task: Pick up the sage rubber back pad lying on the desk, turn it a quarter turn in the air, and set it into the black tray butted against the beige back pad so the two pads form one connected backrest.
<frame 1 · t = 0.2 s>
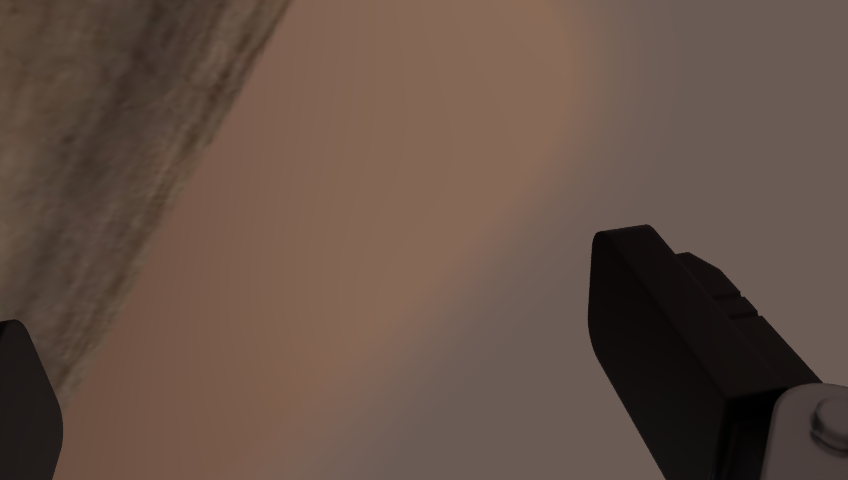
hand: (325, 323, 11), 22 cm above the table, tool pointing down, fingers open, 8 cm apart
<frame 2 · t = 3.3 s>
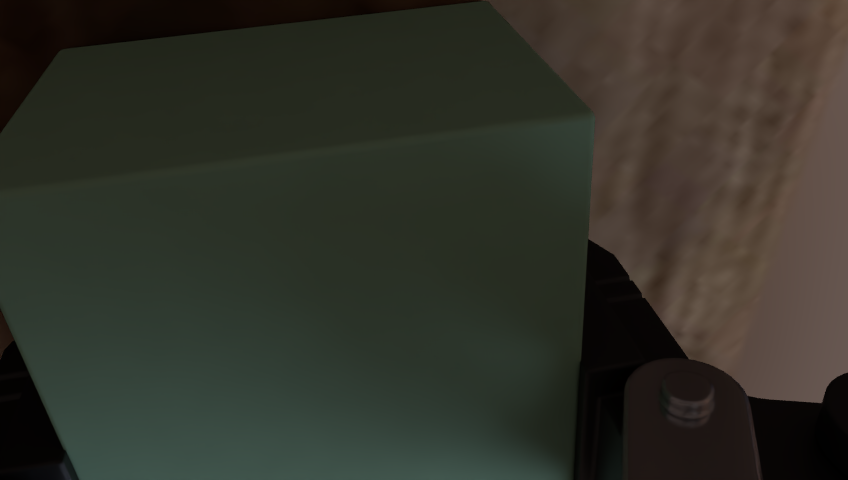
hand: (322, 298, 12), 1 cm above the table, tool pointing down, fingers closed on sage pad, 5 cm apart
sage pad: (322, 277, 12), on the table, touching gripper
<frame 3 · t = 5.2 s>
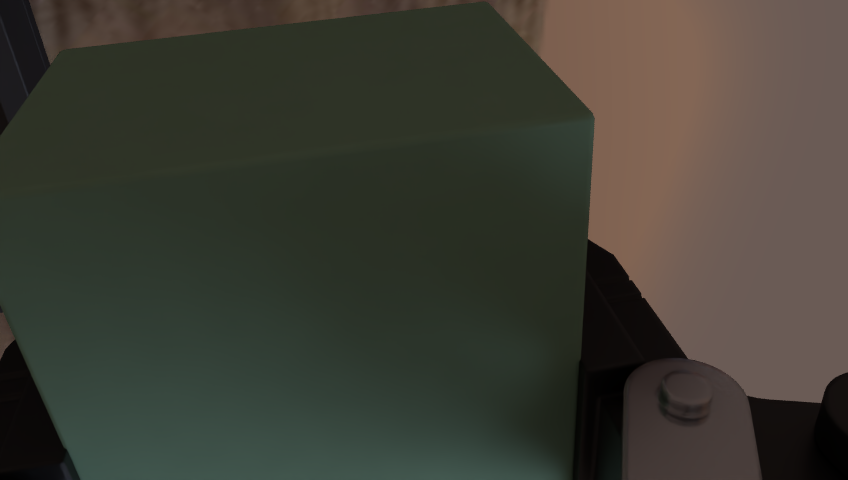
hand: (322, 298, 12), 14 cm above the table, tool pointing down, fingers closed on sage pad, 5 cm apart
sage pad: (322, 277, 12), point 13 cm above the table, touching gripper
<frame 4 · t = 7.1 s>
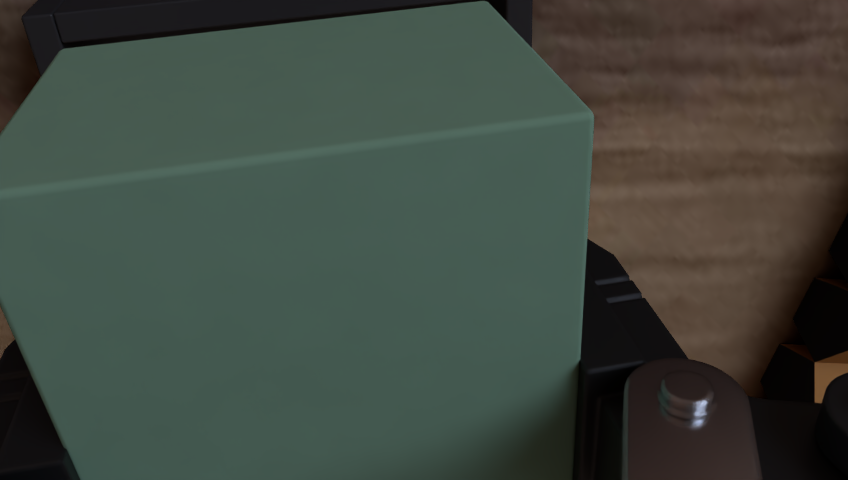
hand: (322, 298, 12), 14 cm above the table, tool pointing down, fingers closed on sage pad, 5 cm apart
sage pad: (321, 276, 12), point 14 cm above the table, touching gripper
tray: (326, 249, 28), on the table
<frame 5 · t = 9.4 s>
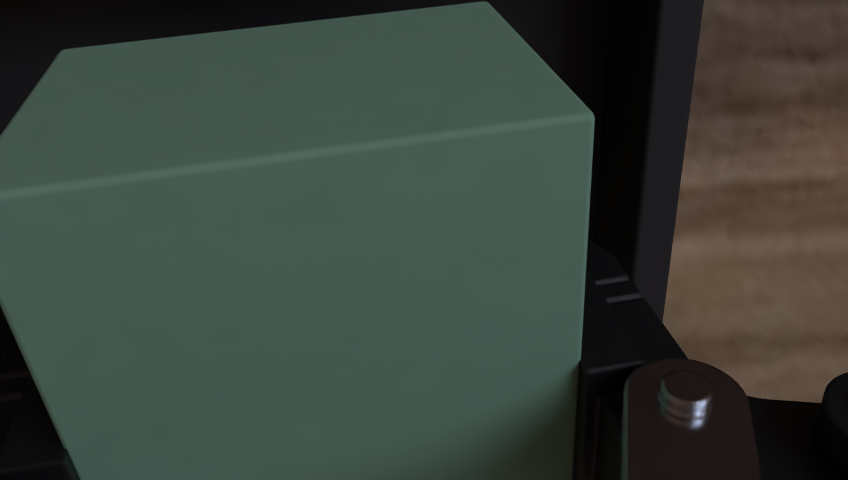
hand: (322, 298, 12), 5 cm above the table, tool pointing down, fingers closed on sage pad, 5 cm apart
sage pad: (322, 277, 12), point 4 cm above the table, touching gripper
tray: (333, 339, 18), on the table
when the fingers open (1 cm above the table, at t = 10.8 s): sage pad stays where it is, resting on tray.
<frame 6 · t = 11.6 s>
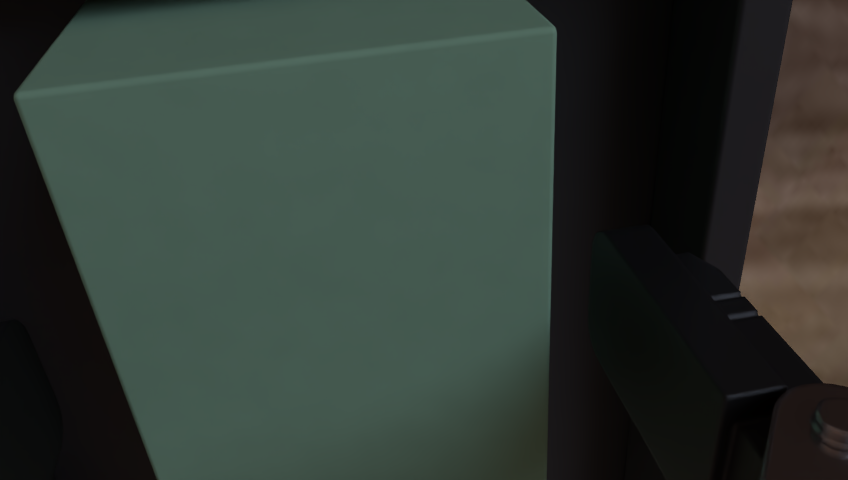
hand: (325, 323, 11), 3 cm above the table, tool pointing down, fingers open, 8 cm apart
sage pad: (325, 210, 13), resting on tray
tray: (350, 382, 16), on the table
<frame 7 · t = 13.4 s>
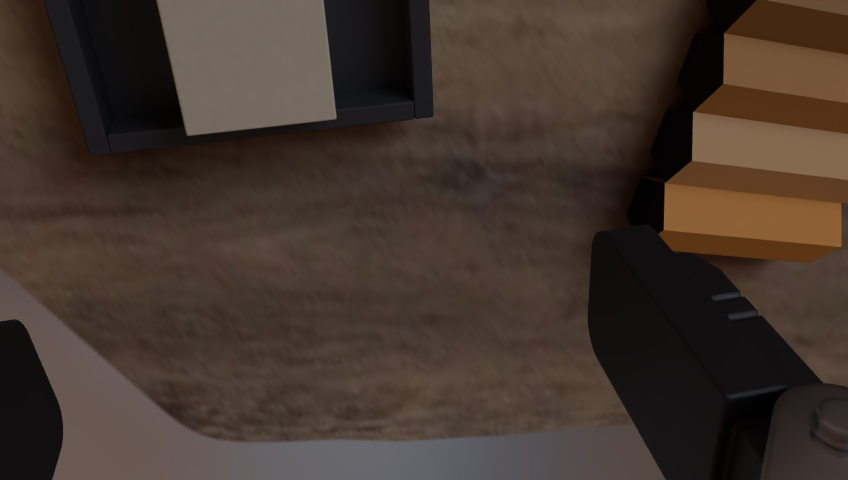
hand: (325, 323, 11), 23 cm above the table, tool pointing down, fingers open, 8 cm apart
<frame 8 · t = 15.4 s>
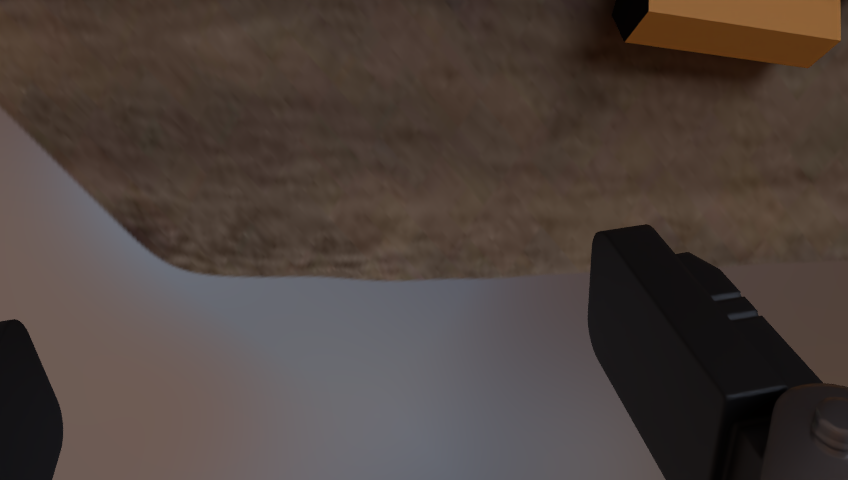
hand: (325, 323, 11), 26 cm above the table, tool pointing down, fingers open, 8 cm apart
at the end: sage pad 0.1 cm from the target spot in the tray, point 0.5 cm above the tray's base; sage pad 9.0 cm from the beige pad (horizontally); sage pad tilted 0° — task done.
